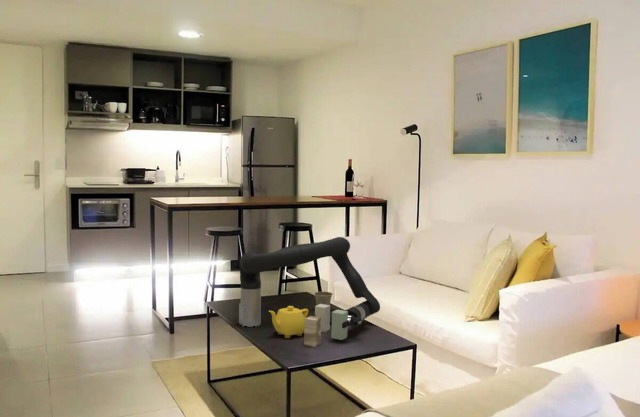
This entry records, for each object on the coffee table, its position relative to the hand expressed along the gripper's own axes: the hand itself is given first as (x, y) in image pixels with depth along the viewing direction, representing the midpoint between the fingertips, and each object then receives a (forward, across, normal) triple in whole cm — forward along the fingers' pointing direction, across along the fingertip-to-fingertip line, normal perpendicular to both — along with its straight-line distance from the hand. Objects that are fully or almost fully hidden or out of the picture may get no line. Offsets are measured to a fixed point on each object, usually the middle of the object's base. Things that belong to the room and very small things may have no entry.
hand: (336, 324), depth 233 cm
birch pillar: (+7, -8, +8) cm, 13 cm away
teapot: (+1, -23, +8) cm, 24 cm away
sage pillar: (-3, 0, +6) cm, 7 cm away
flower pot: (-43, -29, +8) cm, 52 cm away
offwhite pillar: (-13, -14, +8) cm, 20 cm away
